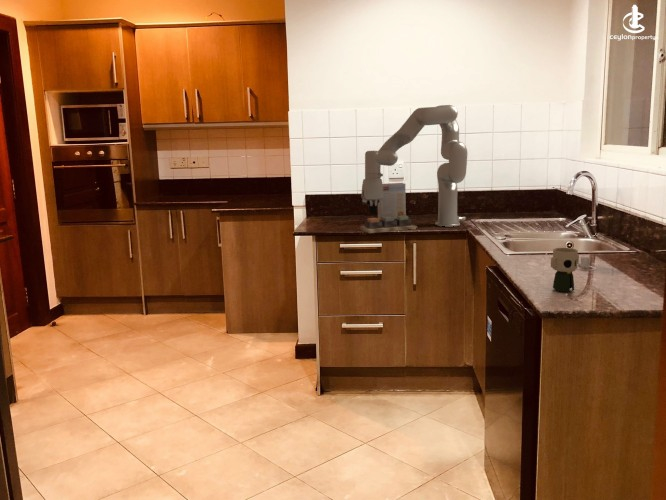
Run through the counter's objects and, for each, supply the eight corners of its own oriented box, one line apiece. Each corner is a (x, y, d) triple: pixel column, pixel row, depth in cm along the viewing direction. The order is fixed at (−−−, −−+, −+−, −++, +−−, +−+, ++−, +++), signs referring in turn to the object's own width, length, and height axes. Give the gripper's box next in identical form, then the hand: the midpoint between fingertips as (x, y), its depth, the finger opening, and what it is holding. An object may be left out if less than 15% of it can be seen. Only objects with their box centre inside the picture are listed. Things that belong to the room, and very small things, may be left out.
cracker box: (401, 221, 336) (401, 182, 332) (406, 223, 331) (406, 183, 326) (377, 223, 333) (376, 183, 329) (381, 224, 327) (380, 184, 323)
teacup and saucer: (577, 265, 230) (578, 254, 229) (600, 268, 225) (601, 256, 224) (569, 269, 223) (570, 258, 222) (592, 272, 218) (593, 261, 217)
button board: (406, 225, 323) (406, 216, 322) (417, 228, 311) (417, 220, 311) (359, 229, 314) (359, 220, 313) (369, 233, 303) (368, 224, 302)
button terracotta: (375, 223, 312) (375, 217, 312) (379, 224, 308) (379, 218, 308) (367, 224, 311) (367, 218, 310) (371, 225, 307) (371, 219, 306)
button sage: (404, 221, 318) (404, 215, 317) (408, 222, 313) (408, 216, 313) (396, 221, 316) (396, 215, 315) (400, 223, 312) (400, 217, 311)
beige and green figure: (558, 295, 189) (560, 253, 187) (541, 290, 196) (543, 249, 193) (585, 291, 194) (587, 249, 191) (568, 285, 200) (570, 246, 197)
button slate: (390, 222, 315) (390, 216, 314) (394, 223, 311) (394, 217, 310) (382, 223, 313) (382, 217, 313) (386, 224, 309) (385, 218, 309)
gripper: (383, 175, 311) (383, 212, 314) (355, 176, 306) (355, 213, 309) (389, 176, 304) (389, 213, 307) (361, 177, 299) (361, 215, 302)
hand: (372, 213), depth 308 cm, fingers closed
